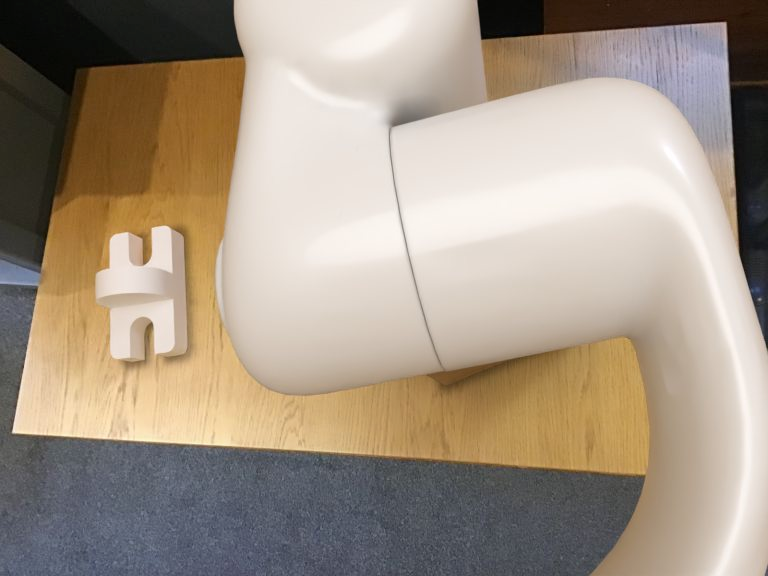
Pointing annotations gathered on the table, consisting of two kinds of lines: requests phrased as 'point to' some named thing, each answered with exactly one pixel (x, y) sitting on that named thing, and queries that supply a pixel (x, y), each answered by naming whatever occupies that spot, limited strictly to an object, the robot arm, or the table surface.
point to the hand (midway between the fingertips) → (449, 247)
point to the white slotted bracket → (145, 294)
